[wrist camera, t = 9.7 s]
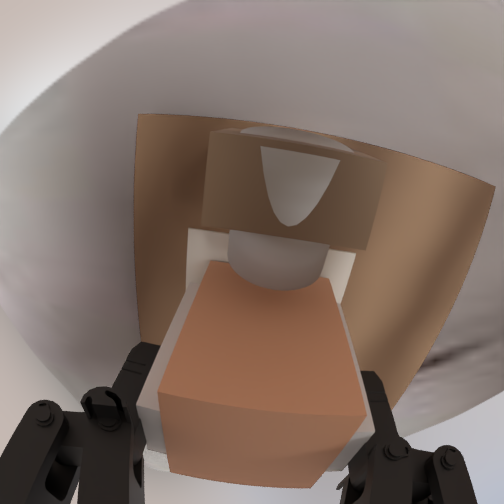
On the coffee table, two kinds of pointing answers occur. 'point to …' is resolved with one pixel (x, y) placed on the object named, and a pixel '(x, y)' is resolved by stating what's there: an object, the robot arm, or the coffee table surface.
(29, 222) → the coffee table surface
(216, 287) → the block
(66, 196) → the coffee table surface
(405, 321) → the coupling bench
